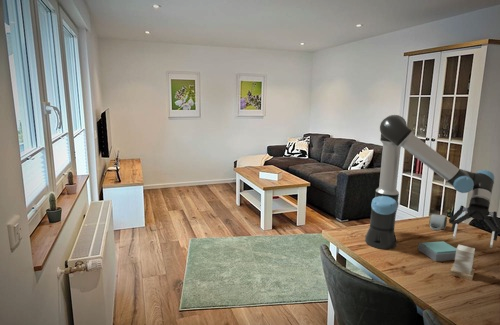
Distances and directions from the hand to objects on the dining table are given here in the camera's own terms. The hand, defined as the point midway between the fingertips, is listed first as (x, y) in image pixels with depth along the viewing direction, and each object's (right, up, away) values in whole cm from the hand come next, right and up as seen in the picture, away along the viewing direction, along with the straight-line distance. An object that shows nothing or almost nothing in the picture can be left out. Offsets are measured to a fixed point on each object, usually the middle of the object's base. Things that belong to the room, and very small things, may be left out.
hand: (471, 242), depth 143 cm
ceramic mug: (+11, -3, +47) cm, 48 cm away
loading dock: (-6, -9, +14) cm, 18 cm away
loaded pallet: (-6, -13, -3) cm, 14 cm away
